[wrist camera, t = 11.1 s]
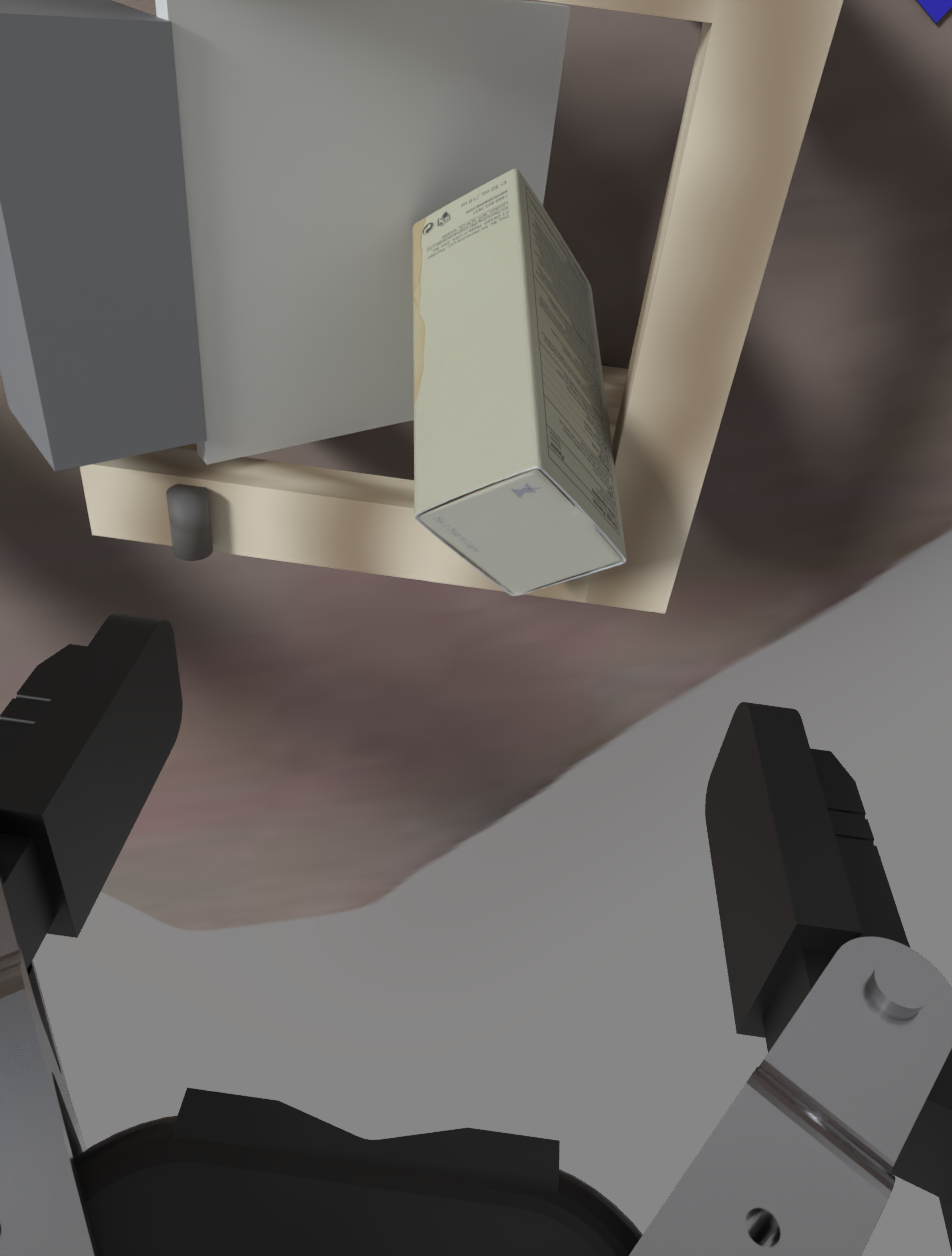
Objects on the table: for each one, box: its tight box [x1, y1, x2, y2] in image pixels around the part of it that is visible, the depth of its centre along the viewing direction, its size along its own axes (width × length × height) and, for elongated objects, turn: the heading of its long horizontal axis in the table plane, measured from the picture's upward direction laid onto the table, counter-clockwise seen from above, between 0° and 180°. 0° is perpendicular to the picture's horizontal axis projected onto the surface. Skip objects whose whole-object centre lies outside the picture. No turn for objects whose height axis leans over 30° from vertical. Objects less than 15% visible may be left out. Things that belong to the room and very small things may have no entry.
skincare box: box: [412, 169, 627, 596], centre depth 30 cm, size 6×4×12 cm
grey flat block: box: [0, 0, 571, 472], centre depth 31 cm, size 19×14×5 cm
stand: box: [80, 0, 843, 614], centre depth 33 cm, size 22×21×17 cm
